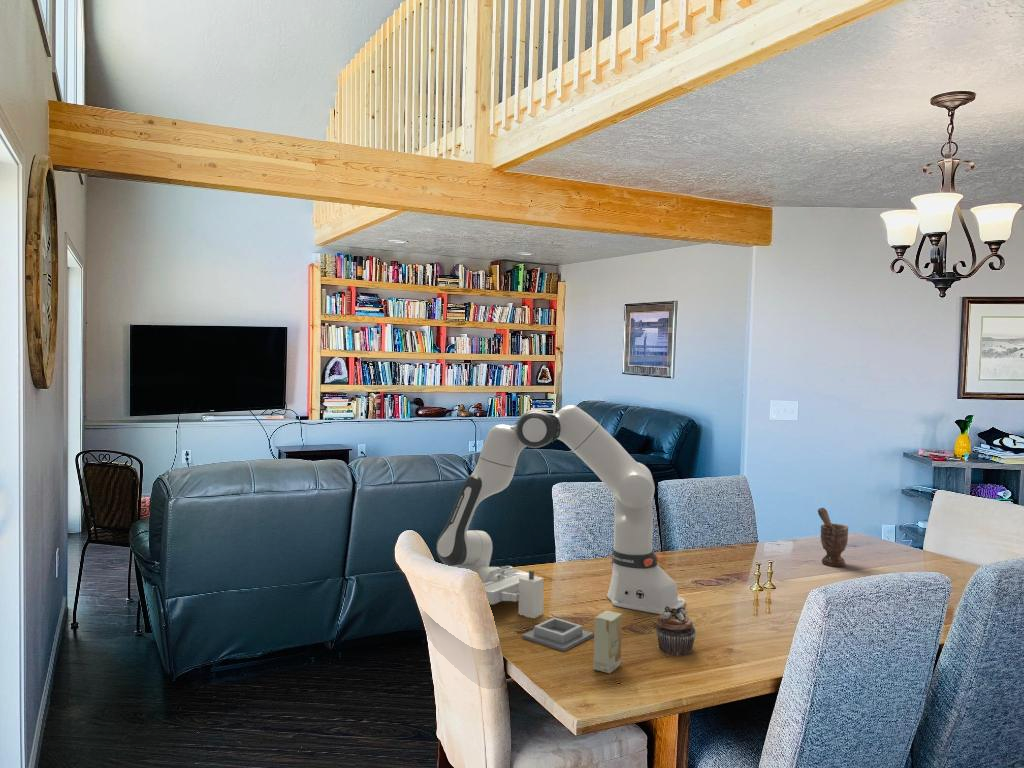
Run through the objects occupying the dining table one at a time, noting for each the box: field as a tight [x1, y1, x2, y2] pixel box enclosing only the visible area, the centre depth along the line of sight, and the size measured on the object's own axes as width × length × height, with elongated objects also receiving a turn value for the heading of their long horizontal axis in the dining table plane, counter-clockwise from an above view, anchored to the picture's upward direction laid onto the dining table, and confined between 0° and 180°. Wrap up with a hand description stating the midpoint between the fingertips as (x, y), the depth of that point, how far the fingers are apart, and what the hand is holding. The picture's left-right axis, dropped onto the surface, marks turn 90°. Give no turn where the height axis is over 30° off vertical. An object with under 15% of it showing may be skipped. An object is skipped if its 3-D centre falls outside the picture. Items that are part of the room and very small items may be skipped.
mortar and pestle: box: [817, 507, 849, 568], centre depth 259 cm, size 12×9×20 cm
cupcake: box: [655, 606, 697, 656], centre depth 187 cm, size 10×10×10 cm
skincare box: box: [592, 610, 623, 674], centre depth 176 cm, size 6×4×12 cm
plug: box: [518, 569, 545, 619], centre depth 209 cm, size 5×4×12 cm
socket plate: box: [521, 617, 594, 652], centre depth 194 cm, size 13×13×3 cm
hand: (528, 593), depth 210 cm, fingers open, 8 cm apart
